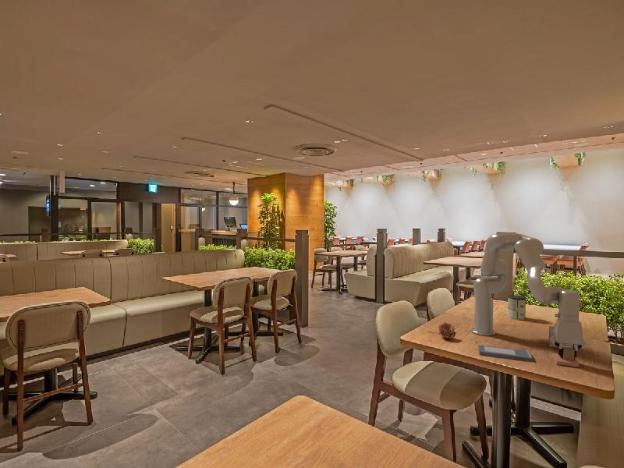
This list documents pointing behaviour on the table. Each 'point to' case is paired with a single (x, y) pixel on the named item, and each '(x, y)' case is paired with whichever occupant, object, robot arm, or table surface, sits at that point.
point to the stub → (566, 357)
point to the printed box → (551, 333)
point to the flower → (447, 330)
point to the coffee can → (516, 307)
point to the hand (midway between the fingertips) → (567, 357)
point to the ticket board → (505, 353)
